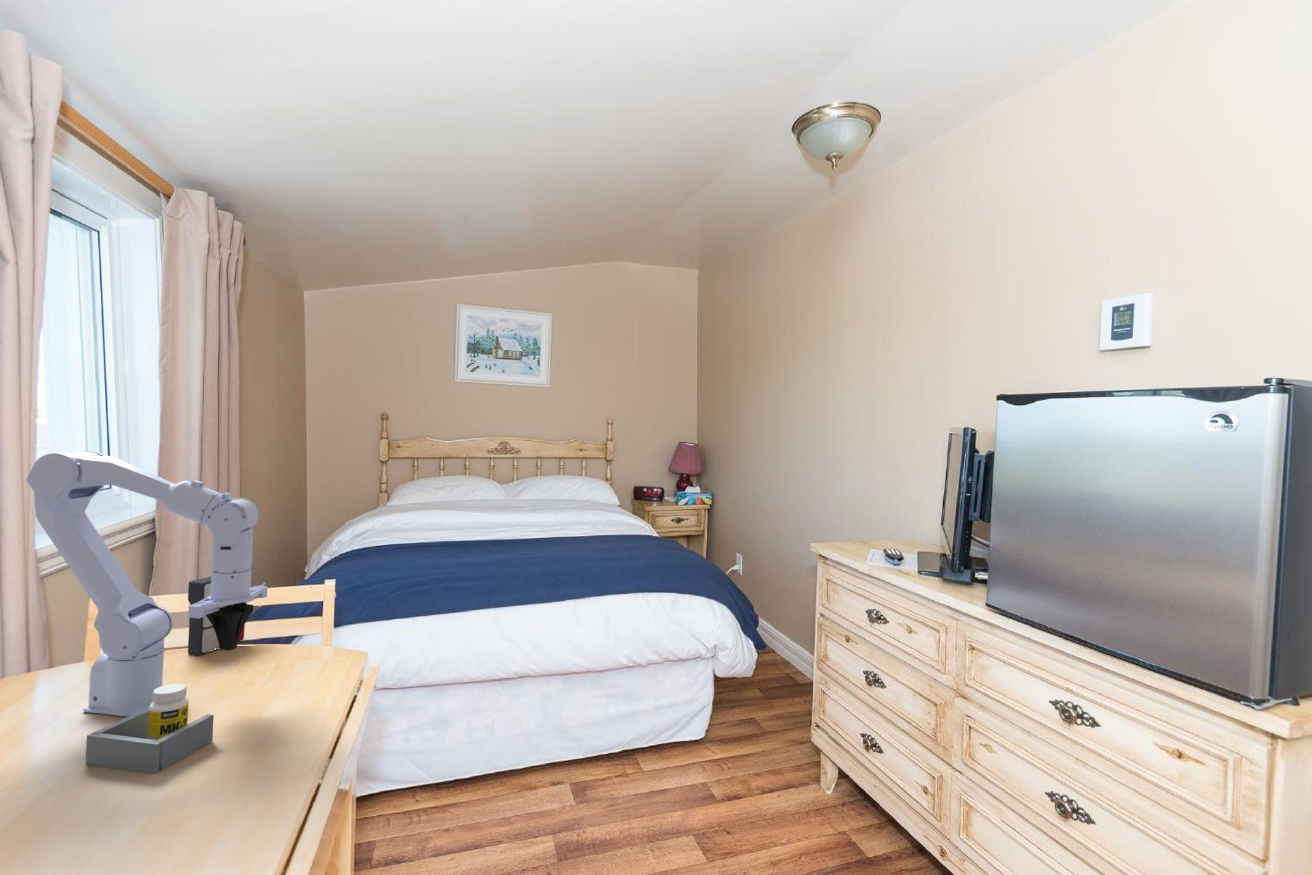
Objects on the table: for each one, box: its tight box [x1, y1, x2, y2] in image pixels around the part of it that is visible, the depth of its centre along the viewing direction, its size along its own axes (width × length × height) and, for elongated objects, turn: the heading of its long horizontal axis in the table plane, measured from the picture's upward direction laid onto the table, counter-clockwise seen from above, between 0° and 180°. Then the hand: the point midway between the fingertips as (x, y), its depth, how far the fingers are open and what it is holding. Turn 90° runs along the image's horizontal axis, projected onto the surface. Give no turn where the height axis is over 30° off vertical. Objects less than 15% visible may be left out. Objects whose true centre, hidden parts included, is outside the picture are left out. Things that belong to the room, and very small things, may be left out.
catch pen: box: [85, 708, 215, 775], centre depth 93 cm, size 11×10×4 cm
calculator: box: [187, 575, 246, 656], centre depth 136 cm, size 11×4×15 cm, turn 168°
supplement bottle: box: [146, 683, 190, 740], centre depth 95 cm, size 5×5×8 cm
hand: (228, 648), depth 110 cm, fingers closed
